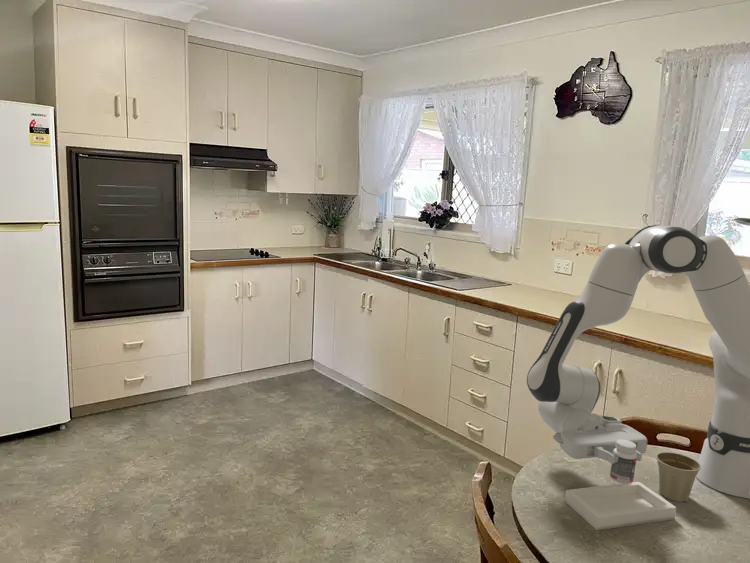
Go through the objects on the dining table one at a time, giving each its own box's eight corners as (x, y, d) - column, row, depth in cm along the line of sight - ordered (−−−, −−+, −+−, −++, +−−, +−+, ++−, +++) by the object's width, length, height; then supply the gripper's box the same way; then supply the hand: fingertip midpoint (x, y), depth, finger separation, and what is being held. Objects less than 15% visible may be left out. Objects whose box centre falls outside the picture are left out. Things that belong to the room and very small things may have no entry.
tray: (637, 492, 131) (639, 481, 131) (674, 519, 121) (676, 507, 120) (564, 501, 125) (566, 490, 125) (597, 530, 115) (598, 517, 115)
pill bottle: (635, 486, 119) (641, 449, 118) (612, 482, 120) (617, 446, 119) (629, 475, 124) (635, 440, 123) (607, 472, 125) (612, 437, 123)
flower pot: (645, 482, 136) (649, 449, 135) (685, 486, 135) (690, 453, 134) (660, 503, 127) (665, 468, 126) (703, 508, 126) (709, 472, 125)
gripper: (550, 421, 130) (588, 448, 117) (623, 417, 136) (667, 442, 123) (547, 447, 131) (584, 476, 118) (619, 441, 137) (662, 469, 124)
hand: (627, 459), depth 120 cm, fingers closed on pill bottle, 5 cm apart
